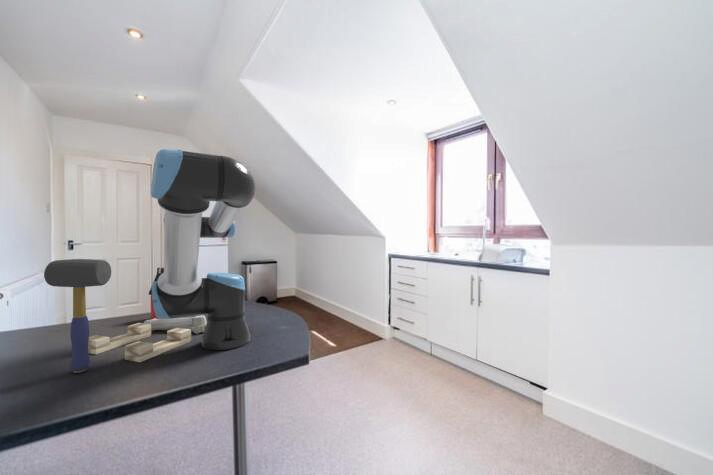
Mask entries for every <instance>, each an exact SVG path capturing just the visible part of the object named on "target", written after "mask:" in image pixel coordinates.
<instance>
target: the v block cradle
mask: <svg viewBox="0 0 713 475" xmlns="http://www.w3.org/2000/svg"><path fill="white" fill-rule="evenodd" d="M166 335H167V336H166V339H162V340H160V341H158V342H155V343H152V342H146V341H145V342H144V341H140V340H142V339H145V338H148V337H151V336H152V330H151V324H144V323H143V322H137V323H133V324H130V325H127V333H124V334H121V335H118V336H114V337H111V336H106V335H100V334H99V335H98V334H95V335H91V336H89V340H88V354H90V355H91V354H93V355H99V354H101V353H104V352H107V351H110V350H113V349H115V348H116V349H117V348H119V347H122V346H124V360H125V361H132V362H137V363H142V362H144V361H146V360H149V359H151V358H154V357H156V356H157V357H158V356H159V355H161V354H163V353H166V352H169V351H171V350H173V349H175V348H178V347H180V346H182V345H186V344H187V343H190V342H192V328H191V329H190V328H184V327H176V328H171V329H169V330H167V331H166Z"/></svg>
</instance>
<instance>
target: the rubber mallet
mask: <svg viewBox="0 0 713 475" xmlns="http://www.w3.org/2000/svg"><path fill="white" fill-rule="evenodd" d="M43 272H44V274H43V277H44V281H45V282H46V284H48V285H49V286H51V287H58V288H59V287H60V288H72V319H71V322H70V331H69V333H70V342H71V361H70V366H69V367H70V370H71V371H72V372H73V373H74V374H77V373H78V374H79V373H83V372H85V371H87V370H88V368H89V367H90V365H91V360H90V355H89V353H88V340H89V337H90V325H89V318H88V316H87V310H86V308H87V306H86V305H87V304H86V301H87V300H86V299H87V298H86V288H87V287H99V286H100V287H103V286H104V285H106V284H107V283H108V282H109V281H110V279H111V277H112V266H111V264H110V263H109V262H108V261H107V260H105V259H94V258H93V259H90V258H87V259H86V258H72V259H68V258H67V259H56V260H53V261H51V262H49V263H48V264H47V265H46V266H45V269H44V271H43Z"/></svg>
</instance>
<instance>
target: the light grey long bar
mask: <svg viewBox="0 0 713 475" xmlns="http://www.w3.org/2000/svg"><path fill="white" fill-rule="evenodd" d="M142 323H144V324H151V332H153V331H157V330H158V331H159V330H167V329H175V328H185V327H191V330H192V333H193V334H200V333H204V330H205V327H206V324H207V318H206V316H205V314H202V315H195V316H194V317H193V316H191V317H180V318H174V319H156V318H154V319H152V320H151V319H146V320H143V321H142Z"/></svg>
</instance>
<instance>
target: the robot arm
mask: <svg viewBox="0 0 713 475" xmlns="http://www.w3.org/2000/svg"><path fill="white" fill-rule="evenodd" d="M151 177H152V178H151V184H150V196H151V198H154V199H156V200H157V203H158V205H159V207H160V208H161V209H162V210H163V211H164V213H163V214H164V215H163V227H164V228H163V229H164V230H163V232H164V233H163V234H164V236H163V237H164V238H163V240H164V241H163V244H164V245H163V267H157V268H156V275H155V276H154V279H153V282H152V284H151V287H150V289H149V292H148V295H149V296H151V295H152V299H153V306H154V311H155V315H156V317H157V318H159V319H174V318H188V317H193V316H194V317H196V316H201V315H207V318H206V322H207V324H206V327H205V330H204V332H203V335H202V336H201V347H202V348H203V349H205V350H210V351H224V350H231V349H235V348H239V347H240V348H241V347H242V346H245V345H247V343H249V342H250V341H251V333H250V330H249V326H248V323H247V320H246V317H245V312H246V310H245V309H246V308H245V307H246V306H245V305H246V304H245V303H246V302H245V301H246V298H245V295H246V293H245V291H246V286H245V279H244V277H243V276H242V275H241V274H237V273H228V272H208V273H207V275H206V277H202V276H201V274H200V273H199V272H198V263H199V252H200V240H201V239H203V238H204V239H206V238H207V239H213V238H214V239H217V238H218V239H219V238H220V239H226V238H232V237H234V236H235V232H236V222H235V220H236V219H237V218H238V215H239V214H240V212H241V210H242V209H243V208H246V207H248V205H249V204H250V203H251V202H252V201H253V199H254V196H255V193H256V184H255V180H254V177H253V175H252V173H251V172H250V170H248V168H247V167H246V166H245V165H244V164H243V163H242V162H240V161H239V160H237V159H235V158H232V157H230V156H225V155H218V154H217V155H215V154H210V153H201V152H193V151H186V150H181V149H167V148H166V149H161V150H159V151H158V152H157V153H156V154H155V158H154V163H153V167H152V174H151ZM210 202H215V203H214V205H213V208H212V211H211V213H210V215H209V216H203V213H205V212H206V211H208V209H209V207H210Z"/></svg>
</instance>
